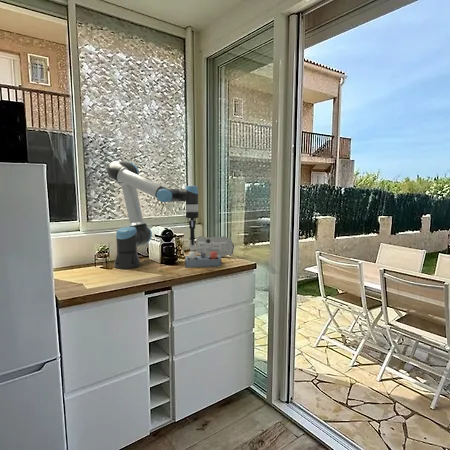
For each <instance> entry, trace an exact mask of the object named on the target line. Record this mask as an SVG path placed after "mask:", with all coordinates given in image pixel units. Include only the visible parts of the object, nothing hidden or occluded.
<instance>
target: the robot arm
mask: <svg viewBox="0 0 450 450" xmlns="http://www.w3.org/2000/svg"><path fill="white" fill-rule="evenodd" d="M106 173H107V176H108V177H109V178H110V179H111V180H114V181H116V182H118V185H119V186H120V187H121V189H122V194H123V197H124V198H123V199H124V202H125V203H124V204H125V208H126V213H127V217H128V222H129V224H128V226H123V227H120V228H118V229H117V230H116V233H115V238H116V256H115V259H114V263H113V265H114V268H115V269H118V270H119V269H123V270H124V269H127V270H128V269H135V268H138V267H141V261H140V258H139V257H140V256H139V255H138V247H141V246H144V245H146V244H148V243H149V242H150V241H151V239H152V237H153V235H152V230H151V229H150V228H149V227H148V226H147V223H146V221H144V217H143V214H142V209H141V208H142V207H141V205H140V199H139V195H138V190H139V191H141V192H143V193H146V194H147V195H150V196H152V197H153V198H155V199H157V201H159V202H160V203H165V204H166V203H171V202H172V203H174V202H185V218H186V219H189V220H188V224H189V230H190V232H189V233H190V234H189V235H190V236H189V242H190V244H189V245H190V246H189V247H190V251H196V239H197V238H196V237H195V229H196V225H197V224H196V222H197V221H196V220H195V219H198V218H199V208H200V205H199V187H198V186H197V185H186V186H185V188H183V189H182V188H181V189H180V188H168V187H165V186H163V185H161V184H159V183H156V182H154V181H153V180H150V179H148V178H145V177H144V176H141V175H140V173H139V167H137V166H136V164H134V163H132V162H128V161H120V160H113V161H111V162H110V163H108V165H107V167H106Z"/></svg>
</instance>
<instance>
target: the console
mask: <svg viewBox="0 0 450 450" xmlns="http://www.w3.org/2000/svg"><path fill="white" fill-rule="evenodd" d="M222 265H223V264H222V257H220V255H217V259H210V255H207V254H205V253H203V252H201V254H200V255H196V260H189V255H185V258H184V268H220V267H221V266H222ZM219 266H220V267H219ZM221 268H222V267H221Z"/></svg>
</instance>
